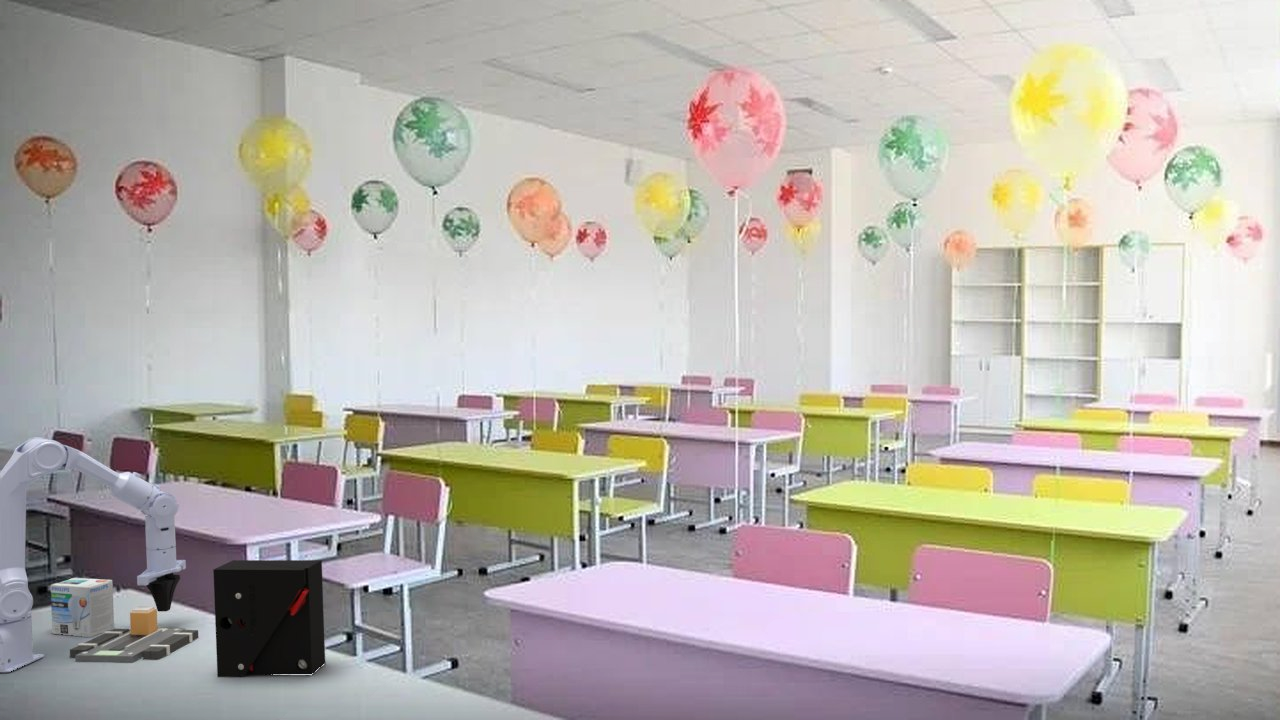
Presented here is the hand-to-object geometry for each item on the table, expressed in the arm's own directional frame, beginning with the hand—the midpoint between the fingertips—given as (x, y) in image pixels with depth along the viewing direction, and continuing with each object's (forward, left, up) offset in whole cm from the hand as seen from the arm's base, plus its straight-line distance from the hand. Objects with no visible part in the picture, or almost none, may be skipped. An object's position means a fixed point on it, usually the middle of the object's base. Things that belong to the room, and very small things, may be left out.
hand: (163, 610), depth 220 cm
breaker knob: (-7, 0, -3) cm, 7 cm away
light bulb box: (-1, +18, -5) cm, 19 cm away
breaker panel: (-11, 0, -4) cm, 12 cm away
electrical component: (-22, -36, -5) cm, 42 cm away
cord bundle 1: (-11, +7, -4) cm, 14 cm away
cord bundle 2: (-11, -8, -4) cm, 15 cm away
